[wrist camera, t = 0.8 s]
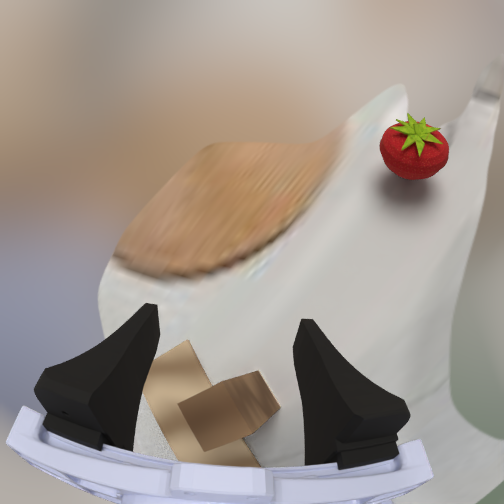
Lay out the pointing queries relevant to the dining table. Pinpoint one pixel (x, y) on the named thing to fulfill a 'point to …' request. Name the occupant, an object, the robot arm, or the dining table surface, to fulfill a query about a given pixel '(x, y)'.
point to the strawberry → (414, 149)
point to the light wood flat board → (171, 418)
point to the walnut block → (229, 410)
